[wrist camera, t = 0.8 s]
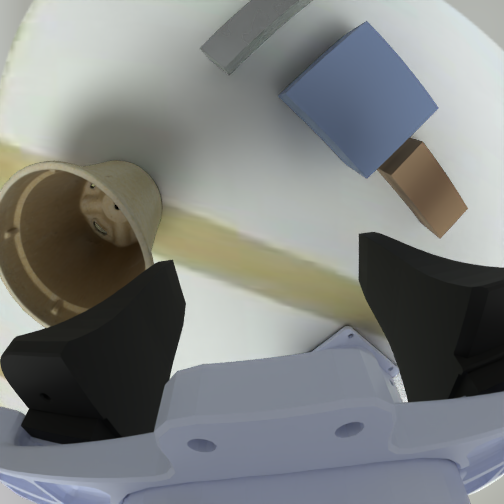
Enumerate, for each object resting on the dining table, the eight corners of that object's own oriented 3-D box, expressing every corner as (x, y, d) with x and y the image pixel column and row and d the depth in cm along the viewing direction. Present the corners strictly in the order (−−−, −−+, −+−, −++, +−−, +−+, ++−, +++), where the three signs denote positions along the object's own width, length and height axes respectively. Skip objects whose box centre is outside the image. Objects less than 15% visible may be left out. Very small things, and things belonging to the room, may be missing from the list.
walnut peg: (445, 195, 20) (467, 208, 18) (420, 222, 21) (439, 238, 19) (401, 135, 19) (422, 141, 16) (372, 165, 20) (390, 175, 17)
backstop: (318, -5, 14) (334, -27, 11) (229, 75, 17) (224, 67, 13) (299, -21, 14) (311, -46, 10) (209, 59, 16) (199, 48, 13)
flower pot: (210, 167, 19) (184, 212, 12) (162, 284, 23) (129, 368, 15) (83, 118, 18) (-1, 136, 10) (56, 236, 21) (-9, 297, 14)
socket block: (406, 105, 17) (438, 108, 14) (345, 164, 19) (366, 178, 16) (344, 35, 15) (366, 21, 12) (277, 96, 17) (285, 93, 14)
